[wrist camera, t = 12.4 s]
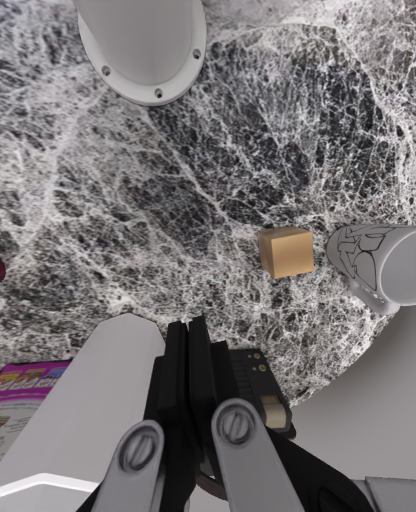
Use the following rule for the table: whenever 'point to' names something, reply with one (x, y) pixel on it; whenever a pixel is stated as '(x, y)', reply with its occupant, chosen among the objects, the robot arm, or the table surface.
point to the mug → (377, 263)
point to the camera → (264, 401)
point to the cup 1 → (2, 271)
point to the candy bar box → (24, 395)
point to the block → (286, 251)
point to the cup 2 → (82, 419)
